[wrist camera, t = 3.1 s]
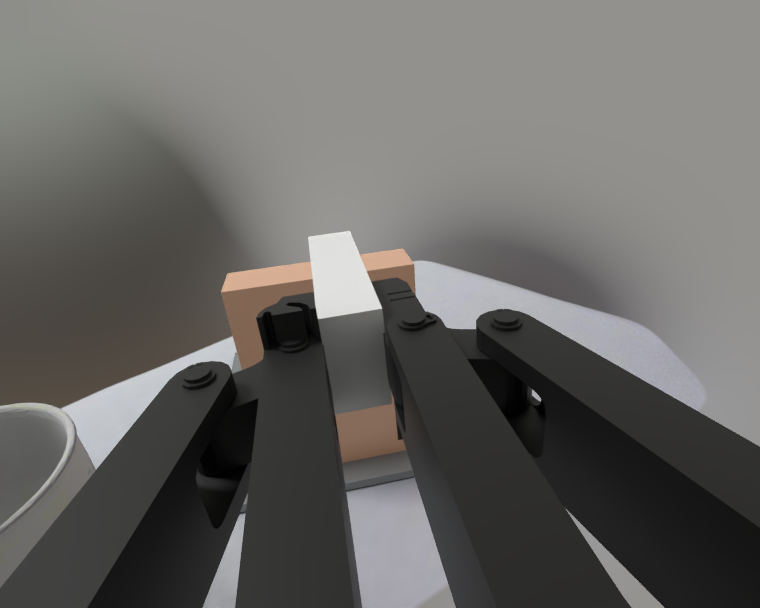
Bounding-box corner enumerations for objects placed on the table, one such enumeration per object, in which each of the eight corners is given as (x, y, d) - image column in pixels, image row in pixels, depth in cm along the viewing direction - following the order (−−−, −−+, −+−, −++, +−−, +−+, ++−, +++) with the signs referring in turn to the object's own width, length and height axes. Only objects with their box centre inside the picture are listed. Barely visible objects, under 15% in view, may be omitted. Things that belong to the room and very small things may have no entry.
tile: (270, 477, 28) (221, 292, 22) (272, 444, 31) (228, 271, 25) (423, 446, 29) (413, 264, 24) (413, 418, 32) (401, 246, 26)
